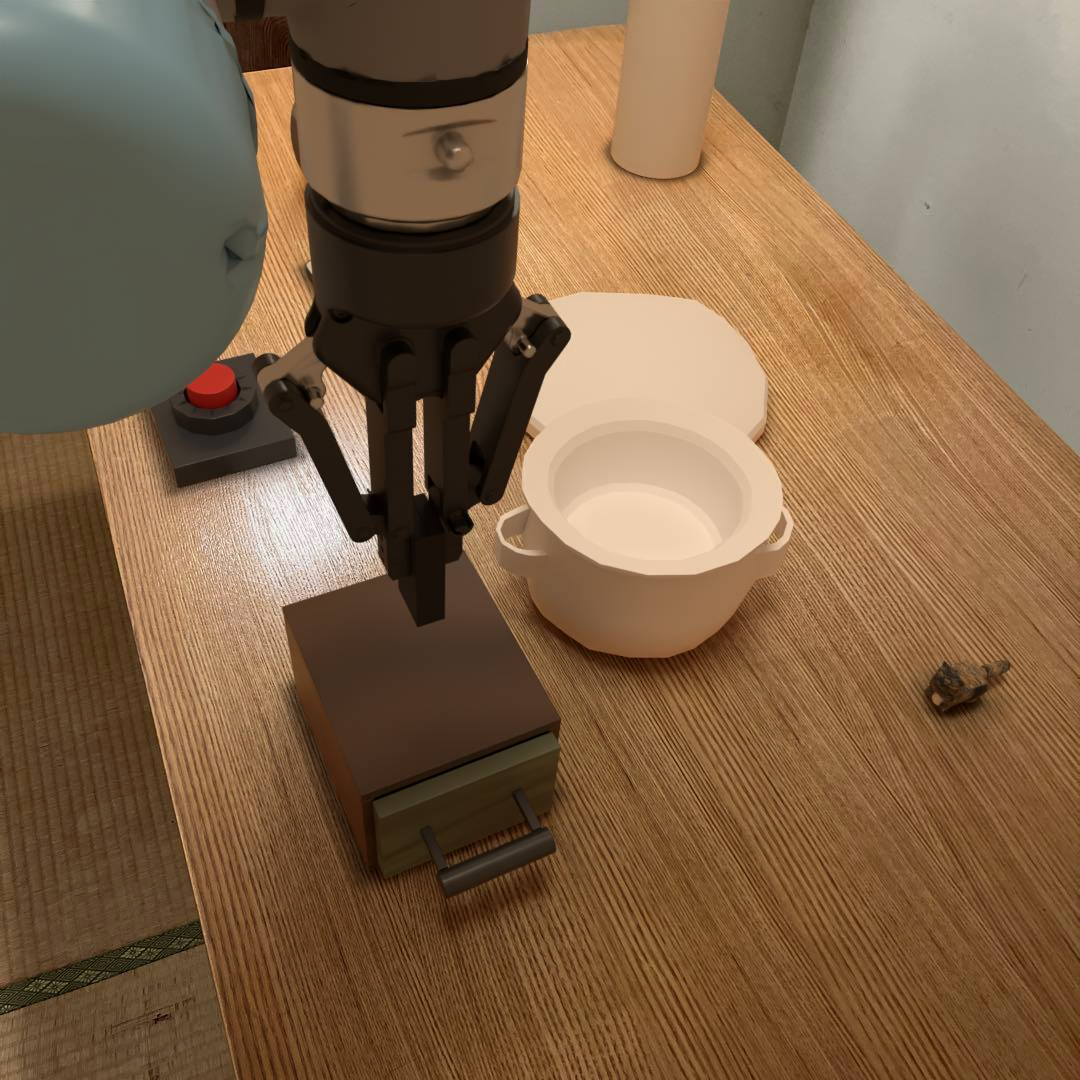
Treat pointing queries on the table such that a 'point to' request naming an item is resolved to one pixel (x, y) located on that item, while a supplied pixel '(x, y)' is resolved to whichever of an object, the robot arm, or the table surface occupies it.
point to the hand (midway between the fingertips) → (421, 603)
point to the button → (213, 388)
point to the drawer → (471, 815)
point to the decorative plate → (652, 359)
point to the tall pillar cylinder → (666, 85)
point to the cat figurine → (962, 682)
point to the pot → (643, 525)
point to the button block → (222, 431)
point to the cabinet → (409, 687)
